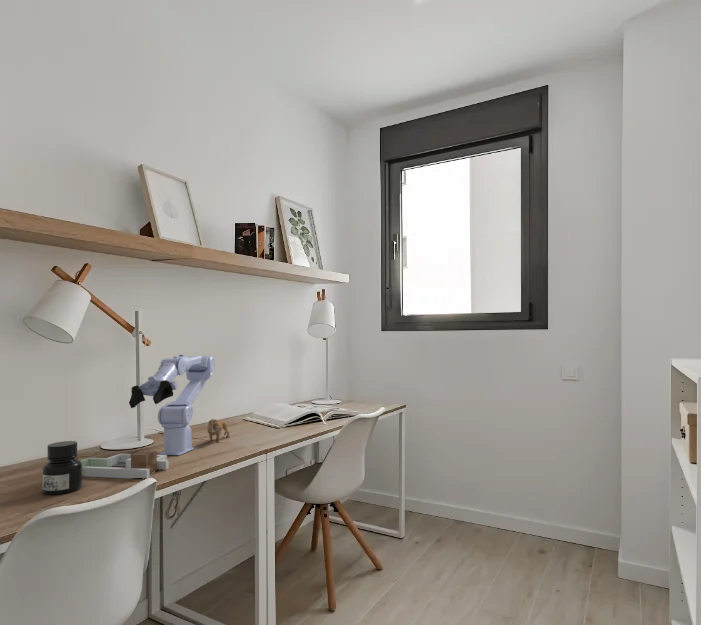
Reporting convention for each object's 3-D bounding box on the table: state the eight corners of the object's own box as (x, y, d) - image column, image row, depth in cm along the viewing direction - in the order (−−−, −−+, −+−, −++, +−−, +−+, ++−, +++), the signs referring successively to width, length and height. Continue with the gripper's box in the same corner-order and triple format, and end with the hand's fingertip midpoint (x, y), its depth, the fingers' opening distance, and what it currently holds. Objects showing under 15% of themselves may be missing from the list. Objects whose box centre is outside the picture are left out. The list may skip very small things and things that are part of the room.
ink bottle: (33, 493, 127) (33, 446, 128) (64, 483, 135) (64, 439, 136) (60, 497, 124) (60, 448, 124) (90, 486, 132) (90, 441, 132)
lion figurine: (219, 444, 178) (218, 419, 179) (204, 445, 179) (204, 419, 179) (231, 436, 193) (231, 413, 193) (218, 436, 193) (217, 413, 194)
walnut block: (141, 470, 146) (141, 450, 147) (156, 471, 145) (156, 450, 146) (130, 475, 142) (130, 454, 142) (146, 476, 140) (146, 455, 141)
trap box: (102, 460, 159) (102, 453, 160) (179, 463, 153) (179, 455, 153) (62, 475, 144) (62, 466, 144) (146, 479, 137) (146, 470, 137)
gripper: (136, 373, 159) (115, 395, 146) (178, 365, 157) (161, 387, 144) (144, 391, 161) (124, 415, 149) (185, 384, 159) (169, 408, 147)
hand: (142, 403), depth 147 cm, fingers open, 7 cm apart
